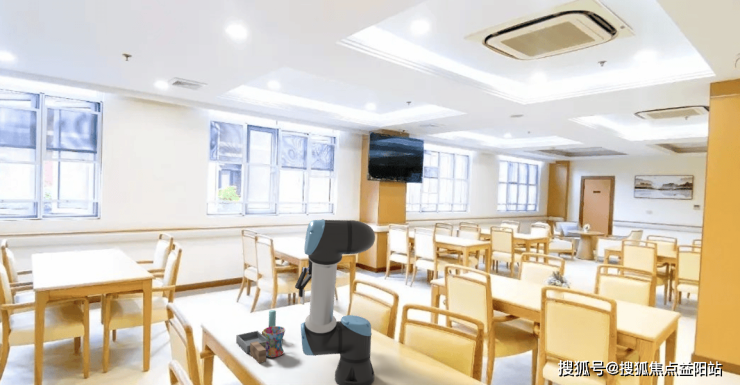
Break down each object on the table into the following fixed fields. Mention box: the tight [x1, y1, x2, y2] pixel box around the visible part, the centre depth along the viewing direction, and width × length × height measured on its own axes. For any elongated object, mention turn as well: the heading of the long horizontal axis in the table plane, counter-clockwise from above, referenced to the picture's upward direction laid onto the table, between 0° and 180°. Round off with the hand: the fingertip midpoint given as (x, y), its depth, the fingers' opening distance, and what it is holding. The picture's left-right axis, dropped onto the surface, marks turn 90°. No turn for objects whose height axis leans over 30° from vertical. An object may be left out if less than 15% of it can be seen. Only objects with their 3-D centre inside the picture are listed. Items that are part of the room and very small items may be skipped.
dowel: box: [268, 309, 277, 327], centre depth 182 cm, size 3×3×13 cm
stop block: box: [249, 341, 267, 364], centre depth 162 cm, size 10×3×5 cm, turn 37°
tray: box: [235, 330, 266, 355], centre depth 174 cm, size 14×10×4 cm
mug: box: [262, 325, 286, 358], centre depth 167 cm, size 12×9×11 cm
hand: (315, 301), depth 178 cm, fingers open, 13 cm apart
